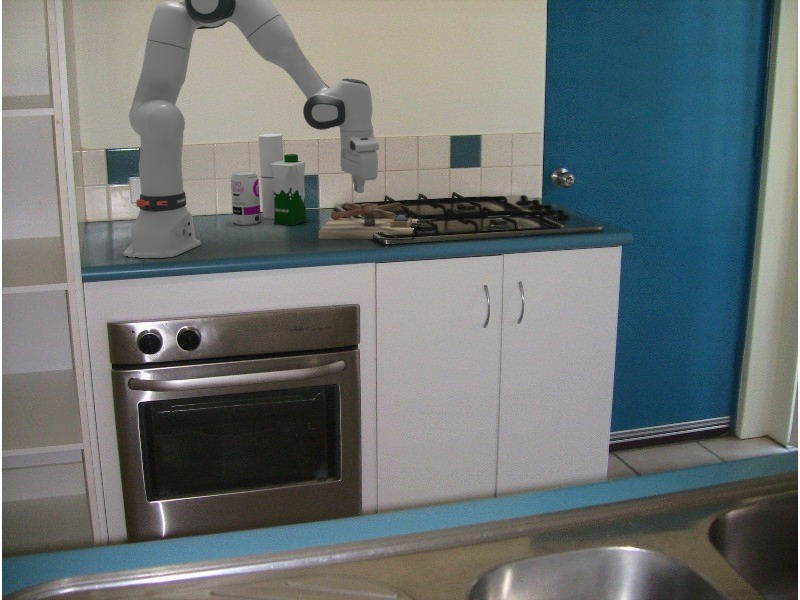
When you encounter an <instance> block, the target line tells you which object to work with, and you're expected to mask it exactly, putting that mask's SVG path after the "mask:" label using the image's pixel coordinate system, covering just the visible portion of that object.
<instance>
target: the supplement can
mask: <svg viewBox="0 0 800 600" xmlns="http://www.w3.org/2000/svg"><path fill="white" fill-rule="evenodd" d="M230 191H231V205H232V222H233V223H235V224H236V225H238V226H252V225H258V224H259V223H260V221H262V219H261V218H262V215H261V201H260V200H261V199H260V182H259V177H258V175H257V172H256V171H245V170H244V171H243V170H242V171H236V172H232V174H231V177H230Z"/></svg>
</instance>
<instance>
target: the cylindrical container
mask: <svg viewBox="0 0 800 600" xmlns="http://www.w3.org/2000/svg"><path fill="white" fill-rule="evenodd" d="M283 142H284V141H283V134H281V133H263V134H259V135H258V148H259V149H258V150H259V165H260V183H261V187H260V188H261V200H262V201H261V203H262V216H263V218H264V219H270V220H271V219H273V220H274V208H275V206H274V187H273V176H272V172H271V168H270V164H273V163H275V162H280V161H284V146H283V145H284V144H283Z"/></svg>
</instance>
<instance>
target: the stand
mask: <svg viewBox="0 0 800 600" xmlns="http://www.w3.org/2000/svg"><path fill="white" fill-rule="evenodd" d="M396 218H397V217H395V218H393V219H390V218H376V217H363V218H349V217H344V218H339V219H338V220H333V219H332V218H331V217H330V218H329V219H328V221H327V222H326V223H325V224H323V226H322V227H321V228H320V229H319V230H318V239H333V240H334V239H335V240H337V239H338V240H339V239H341V240H343V239H345V240H348V239H349V240H374V239H373V234H374V233H378V232H379V233H380V232H384V233H391V234H412V233H413V230H414V228H411V227H410V226H411V224H412V223H417V221H418V222H419V219H418V218H413V217H406V221H396Z"/></svg>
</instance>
